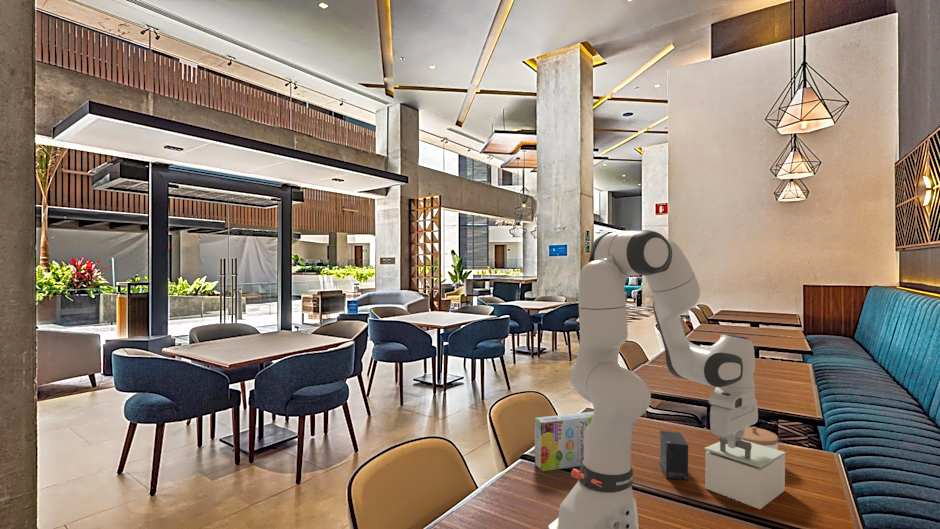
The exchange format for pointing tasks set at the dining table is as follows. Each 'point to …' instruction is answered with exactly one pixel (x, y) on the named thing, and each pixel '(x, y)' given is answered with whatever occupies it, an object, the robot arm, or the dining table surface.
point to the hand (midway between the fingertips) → (735, 445)
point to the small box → (673, 455)
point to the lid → (746, 452)
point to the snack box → (560, 440)
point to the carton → (744, 479)
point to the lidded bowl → (761, 437)
